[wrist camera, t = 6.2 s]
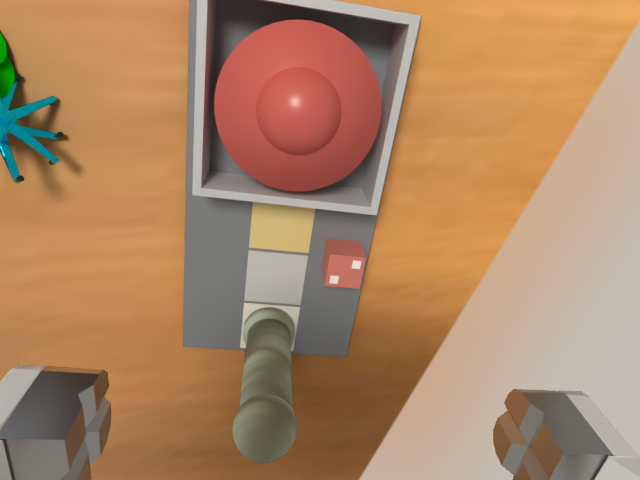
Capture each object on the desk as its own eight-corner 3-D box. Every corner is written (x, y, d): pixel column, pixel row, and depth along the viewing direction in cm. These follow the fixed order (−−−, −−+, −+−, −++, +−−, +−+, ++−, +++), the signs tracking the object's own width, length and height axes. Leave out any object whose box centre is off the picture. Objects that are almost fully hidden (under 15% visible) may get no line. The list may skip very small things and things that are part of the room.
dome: (218, 165, 34) (206, 191, 29) (226, 7, 30) (213, 3, 24) (356, 181, 36) (369, 210, 30) (384, 33, 31) (405, 36, 26)
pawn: (242, 346, 43) (225, 477, 30) (246, 305, 41) (229, 428, 28) (291, 349, 43) (294, 479, 31) (297, 309, 41) (303, 431, 29)
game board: (185, 339, 43) (173, 376, 39) (192, -24, 30) (176, -32, 25) (344, 350, 45) (351, 386, 41) (418, 16, 32) (439, 15, 28)
